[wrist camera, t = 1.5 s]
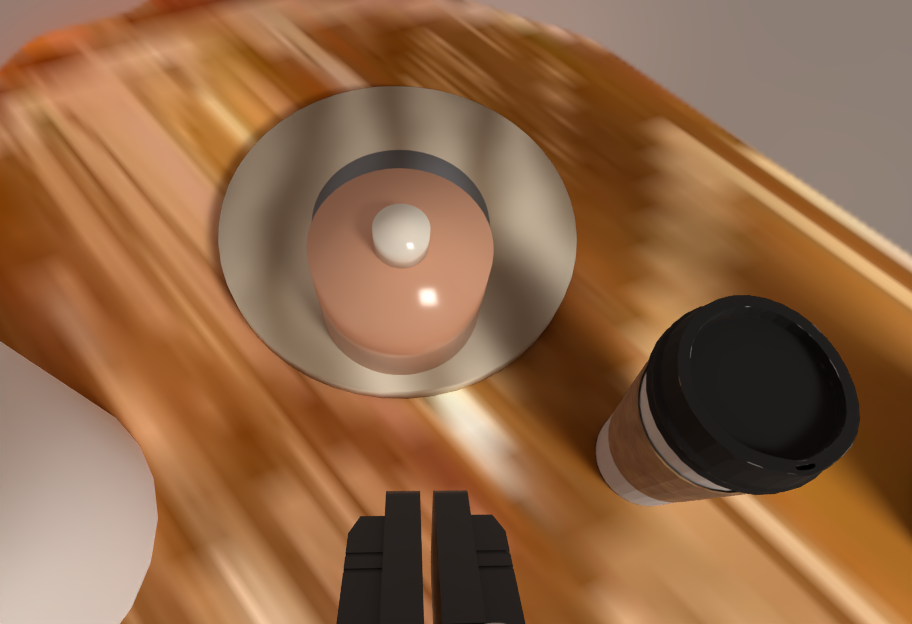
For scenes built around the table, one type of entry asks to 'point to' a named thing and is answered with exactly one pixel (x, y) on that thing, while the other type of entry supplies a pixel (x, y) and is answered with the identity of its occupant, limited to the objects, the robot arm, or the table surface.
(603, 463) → the coffee cup
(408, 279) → the knobbed pink canister
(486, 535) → the robot arm
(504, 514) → the table surface
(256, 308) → the serving board
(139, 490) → the grey piece
